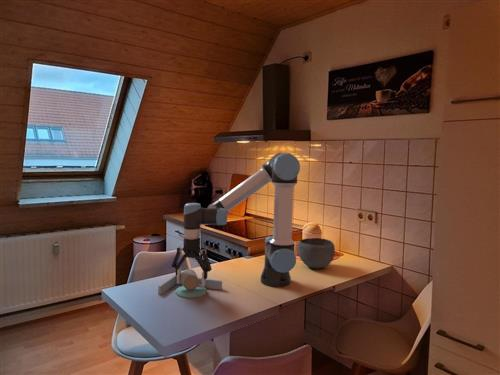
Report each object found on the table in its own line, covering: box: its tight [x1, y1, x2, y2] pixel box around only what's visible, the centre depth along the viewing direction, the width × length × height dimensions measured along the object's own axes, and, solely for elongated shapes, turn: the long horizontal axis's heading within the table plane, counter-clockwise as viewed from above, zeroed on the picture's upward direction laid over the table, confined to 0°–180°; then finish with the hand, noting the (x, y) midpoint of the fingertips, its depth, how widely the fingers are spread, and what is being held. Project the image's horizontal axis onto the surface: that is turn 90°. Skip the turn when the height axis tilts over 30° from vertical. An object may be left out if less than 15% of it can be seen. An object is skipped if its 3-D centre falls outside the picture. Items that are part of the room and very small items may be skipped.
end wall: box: [157, 274, 177, 296], centre depth 176 cm, size 1×15×4 cm, turn 165°
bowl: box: [297, 237, 336, 270], centre depth 216 cm, size 21×21×15 cm
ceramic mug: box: [180, 268, 203, 290], centre depth 173 cm, size 11×8×8 cm
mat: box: [175, 285, 207, 299], centre depth 173 cm, size 14×14×1 cm
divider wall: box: [174, 274, 223, 291], centre depth 181 cm, size 24×1×4 cm, turn 75°
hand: (191, 284), depth 173 cm, fingers closed on ceramic mug, 11 cm apart
